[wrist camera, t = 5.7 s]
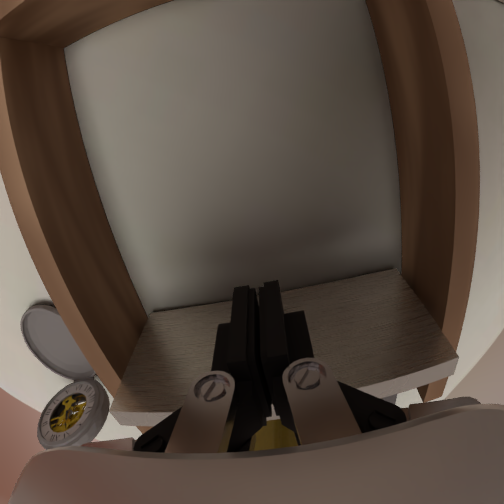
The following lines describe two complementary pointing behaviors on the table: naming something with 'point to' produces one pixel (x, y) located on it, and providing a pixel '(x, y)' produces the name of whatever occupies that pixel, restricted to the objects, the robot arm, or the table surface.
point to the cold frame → (92, 213)
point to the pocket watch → (83, 389)
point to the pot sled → (321, 335)
